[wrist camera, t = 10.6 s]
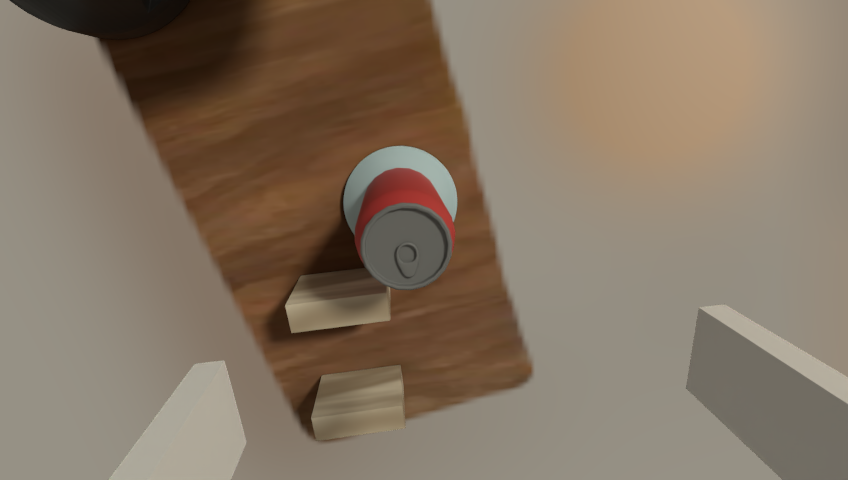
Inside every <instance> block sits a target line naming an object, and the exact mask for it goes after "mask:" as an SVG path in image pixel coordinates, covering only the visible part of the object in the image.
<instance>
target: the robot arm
mask: <svg viewBox="0 0 848 480" xmlns="http://www.w3.org/2000/svg"><path fill="white" fill-rule="evenodd" d="M10 1H11V2H13V3H14V4H15V5H17V6H18V7H20V8H21V9H23V10H24V11H26V12H27V13H29V14H31V15H33V16H35V17H37V18H38V19H41V20H43V21H45V22H47V23H49V24H52V25H54V26H57V27H59V28H62V29H66V30H68V31H72V32H77V33H81V34H84V35H89V36H93V37H98V38H104V39H129V38H136V37H140V36H144V35H147V34H149V33H152V32H154V31H156V30H158V29H160V28H162V27H164V26H165V25H167V24H168V23H169V22H171V21H172V20H173V19H174V18H175V17H176V16H177V15H178V14H179V13H180V12H181V11H182V10H183V9H184V8H185V6H186V5H187V3H188V2H189V0H10ZM686 389H687V390H688V391H689V392H691V393H692V394H693V395H694V396H695V397H696V398H697V399H698V400H699V401H700V402H701V403H702V404H703V405H704V406H705V407H706V408H707V409H708V410H710V411H711V412H712V413H713V414H714V415H715V416H716V417H717V418H718V419H719V420H720V421H721V422H722V423H723V424H724V425H726V427H727V428H728V429H730V430H731V431H732V432H733V433H734V434H735V435H736V436H737V437H738V438H739V439H740V440H741V441H742V442H743V443H744V444H746V446H747V447H749V448H750V449H751V450H752V451H753V452H754V453H755V454H756V455H757V456H758V457H759V458H760V459H761V460H762V461H763V462H764V463H765V464H767V465H768V466H769V467H770V468H771V469H772V470H773V471H774V472H775V473H776V474H777V475H778V476H779V477H780V478H781V479H782V480H848V377H846V376H845V375H843V374H841V373H840V372H838V371H836V370H834V369H833V368H831V367H829V366H828V365H826V364H824V363H823V362H821V361H819V360H818V359H816V358H814V357H813V356H811V355H809V354H807V353H806V352H804V351H802V350H801V349H799V348H797V347H796V346H794V345H792V344H791V343H789V342H787V341H785V340H784V339H782V338H780V337H779V336H777V335H775V334H774V333H772V332H770V331H768V330H767V329H765V328H763V327H762V326H760V325H758V324H757V323H755V322H753V321H752V320H750V319H748V318H746V317H745V316H743V315H741V314H740V313H738V312H736V311H734V310H733V309H731V308H730V307H728V306H726V305H717V306H708V307H699V310H698V316H697V322H696V329H695V336H694V341H693V347H692V354H691V360H690V367H689V373H688V379H687V385H686ZM246 443H247V442H246V439H245V435H244V431H243V427H242V423H241V420H240V416H239V412H238V409H237V405H236V402H235V398H234V394H233V390H232V387H231V383H230V379H229V376H228V372H227V369H226V364H225V361H216V362H207V363H199V364H194V365H193V367H192V368H191V369H190V371H189V372H188V373H187V375H186V376H185V378H184V379H183V380H182V381H181V383H180V384H179V386H178V387H177V388H176V390H175V391H174V392H173V394H172V395H171V396H170V398H169V399H168V400H167V402H166V403H165V404H164V406H163V407H162V408H161V410H160V411H159V413H158V414H157V415H156V416H155V418H154V419H153V421H152V422H151V423H150V424H149V426H148V427H147V428H146V430H145V431H144V433H143V434H142V435H141V437H140V438H139V439H138V441H137V442H136V443H135V445H134V446H133V447H132V449H131V450H130V451H129V453H128V454H127V455H126V457H125V458H124V459H123V461H122V462H121V463H120V465H119V466H118V467H117V469H116V470H115V471H114V473H113V474H112V475H111V477H110V478H109V479H108V480H231V479H232V477H233V474H234V472H235V469H236V467H237V465H238V462H239V460H240V457H241V455H242V453H243V450H244V447H245V445H246Z"/></svg>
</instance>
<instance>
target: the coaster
mask: <svg viewBox="0 0 848 480" xmlns="http://www.w3.org/2000/svg"><path fill="white" fill-rule="evenodd" d="M394 168H410V169H412V170H415V171H418V172H420V173H422V174H423V175H424V176H425V177H427V178H428V179H429V180H430V181H431V183H432V184H433V186H434V188H435V189H436V191H437V192H438V194H439V196H440V198H441V199H442V201H443V203H444V205H445V206H446V208H447V210H448V211H449V213H450V215H451V217H452V220H453V222H454V219H455V215H456V211H457V193H456V188H455V185H454V182H453V180H452V178H451V176H450V174H449V172H448V171H447V169H446V168H445V167H444V166H443V164H442V163H440V162H439V161H438V160H437V159H436V158H435V157H433V156H432V155H431V154H429V153H427V152H425V151H423V150H421V149H418V148H414V147H410V146H391V147H386V148H383V149H380V150H377V151H375V152H373V153H371V154H370V155H368V156H367V157H365V158H364V159H363V160H362V161H361V162H360V163H359V164H358V165H357V166H356V167H355V169H354V170H353V172H352V173H351V175H350V177H349V179H348V181H347V184H346V187H345V191H344V200H343V205H344V213H345V217H346V220H347V223H348V225H349V227H350V229H351V231H352V232H353V234H354V235H355V226H356V223H357V219H358V215H359V212H360V208H361V205H362V201H363V198H364V195H365V192H366V190H367V187H368V186H369V184H370V183H371V182H372V181H373V179H374V178H375V177H376V176H378V175H380V174H381V173H383V172H384V171H386V170H390V169H394Z"/></svg>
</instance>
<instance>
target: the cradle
mask: <svg viewBox="0 0 848 480" xmlns="http://www.w3.org/2000/svg"><path fill="white" fill-rule="evenodd" d="M285 307H286V312H287V316H288V320H289V325H290V329H291V333H297V332H304V331H312V330H320V329H327V328H335V327H343V326H351V325H358V324H366V323H374V322H381V321H389V320H390V287H388V286H385V285H383V284H381V283H380V282H379V281H377V280H376V279H374V278H373V277H372V276H371V274H370V273H369V272H368V270H367V269H366V268H359V269H351V270H343V271H335V272H327V273H318V274H310V275H302V276H300V278H299V280H298V282H297V284H296V286H295V287H294V289H293V291H292V293H291V295H290V297H289V299H288V301H287V303H286V305H285ZM311 420H312V425H313V429H314V433H315V438H316V441H319V440H326V439H333V438H340V437H347V436H354V435H361V434H368V433H375V432H382V431H389V430H396V429H403V428H405V408H404V390H403V380H402V372H401V365H395V366H388V367H380V368H373V369H365V370H358V371H351V372H343V373H336V374H328V375H322V377H321V381H320V385H319V389H318V393H317V397H316V401H315V405H314V408H313V412H312V416H311Z"/></svg>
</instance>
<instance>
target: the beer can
mask: <svg viewBox="0 0 848 480" xmlns="http://www.w3.org/2000/svg"><path fill="white" fill-rule="evenodd" d="M454 240H455V229H454V224H453V220H452V217H451V215H450V213H449V211H448V210H447V208H446V206H445V205H444V203H443V201H442V199H441V198H440V196H439V194H438V192H437V191H436V189H435V188H434V186H433V184H432V183H431V181H430V180H429V179H428V178H427V177H425V176H424V175H423V174H422V173H420V172H418V171H415V170H412V169H410V168H394V169H390V170H386V171H384V172H383V173H381V174H380V175H378V176H376V177H375V178H374V179H373V181H372V182H371V183H370V184H369V186H368V187H367V190H366V192H365V195H364V198H363V201H362V205H361V208H360V212H359V215H358V219H357V223H356V226H355V245H356V248H357V251H358V254H359V257H360V259H361V261H362V262H363V264H364V266H365V268H366V269H367V270H368V272H369V273H370V274H371V276H372V277H373V278H374V279H376V280H377V281H379V282H380V283H381V284H383V285H385V286H388V287H391V288H394V289H397V290H413V289H417V288H421V287H425V286H426V285H428V284H430V283H431V282H433V281H435V280H436V279H437V278H438V277H439V276H440V275H441V274H442V273H443V271H444V270H445V269H446V267H447V265H448V263H449V260H450V258H451V254H452V251H453V248H454Z"/></svg>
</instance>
